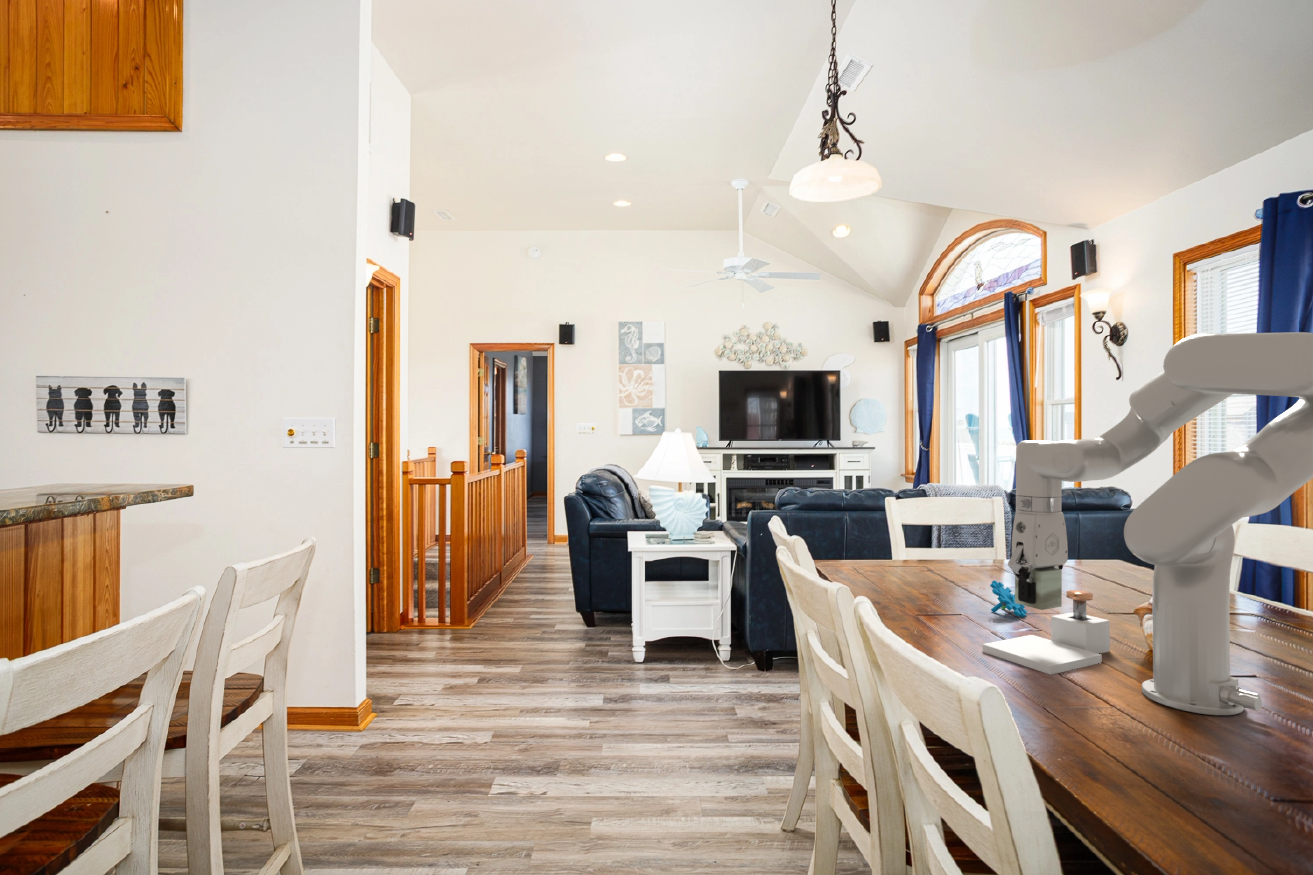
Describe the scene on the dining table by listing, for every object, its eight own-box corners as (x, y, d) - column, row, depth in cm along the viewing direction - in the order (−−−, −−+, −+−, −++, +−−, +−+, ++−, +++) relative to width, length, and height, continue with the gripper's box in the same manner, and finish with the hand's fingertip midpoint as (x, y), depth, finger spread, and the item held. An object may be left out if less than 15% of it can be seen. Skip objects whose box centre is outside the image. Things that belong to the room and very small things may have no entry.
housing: (1061, 606, 125) (1061, 567, 125) (1041, 609, 123) (1041, 569, 123) (1034, 599, 130) (1034, 562, 130) (1014, 602, 128) (1015, 564, 128)
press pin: (1098, 624, 130) (1098, 593, 130) (1083, 627, 128) (1083, 596, 128) (1076, 619, 134) (1075, 589, 134) (1061, 621, 132) (1061, 591, 132)
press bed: (1128, 656, 126) (1128, 624, 126) (1050, 674, 117) (1050, 640, 117) (1057, 636, 139) (1057, 607, 139) (982, 651, 130) (982, 620, 130)
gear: (1019, 615, 150) (988, 578, 156) (998, 630, 153) (969, 593, 159) (1037, 613, 157) (1006, 578, 163) (1017, 627, 160) (988, 592, 166)
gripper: (1025, 509, 120) (1025, 610, 120) (1087, 505, 127) (1087, 600, 127) (989, 505, 126) (989, 600, 127) (1050, 501, 133) (1049, 591, 134)
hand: (1038, 599), depth 127 cm, fingers closed on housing, 5 cm apart
